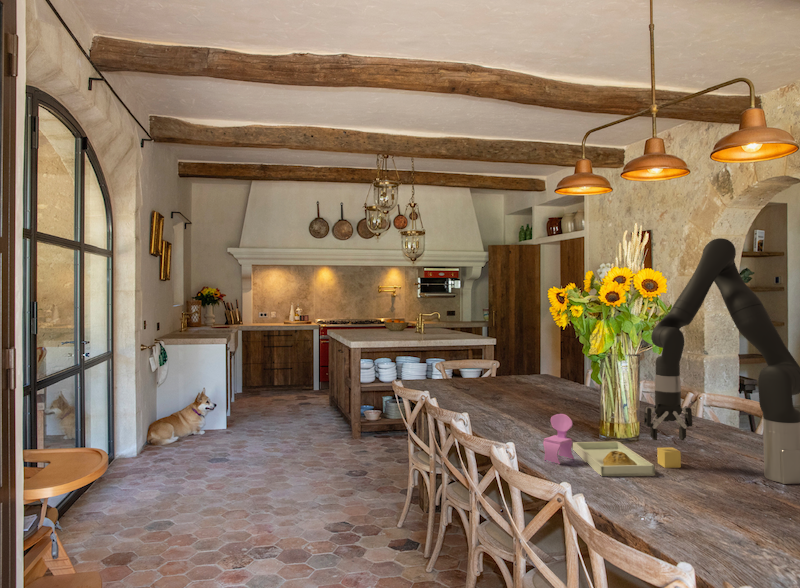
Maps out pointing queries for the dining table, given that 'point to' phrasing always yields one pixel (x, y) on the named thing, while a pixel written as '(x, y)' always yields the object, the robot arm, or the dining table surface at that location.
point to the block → (669, 457)
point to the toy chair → (558, 439)
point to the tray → (596, 454)
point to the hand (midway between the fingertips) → (668, 439)
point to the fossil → (617, 459)
